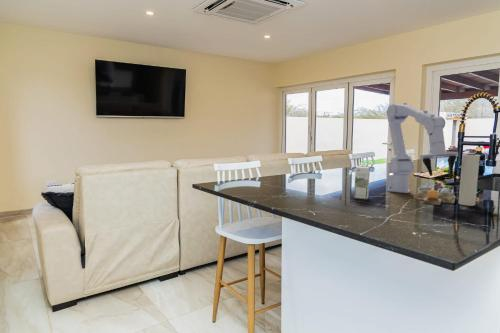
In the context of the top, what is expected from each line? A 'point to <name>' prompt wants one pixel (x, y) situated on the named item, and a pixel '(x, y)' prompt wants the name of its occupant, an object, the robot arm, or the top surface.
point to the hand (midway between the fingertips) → (441, 174)
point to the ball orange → (433, 194)
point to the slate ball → (426, 188)
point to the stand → (432, 201)
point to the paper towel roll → (469, 179)
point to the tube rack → (441, 195)
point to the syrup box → (361, 182)
